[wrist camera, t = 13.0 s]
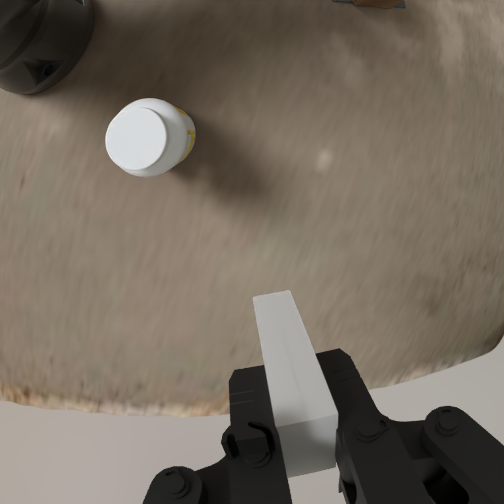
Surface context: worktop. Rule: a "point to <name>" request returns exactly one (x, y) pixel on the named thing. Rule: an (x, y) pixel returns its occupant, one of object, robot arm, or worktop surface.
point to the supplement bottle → (150, 137)
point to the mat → (400, 4)
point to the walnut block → (377, 3)
